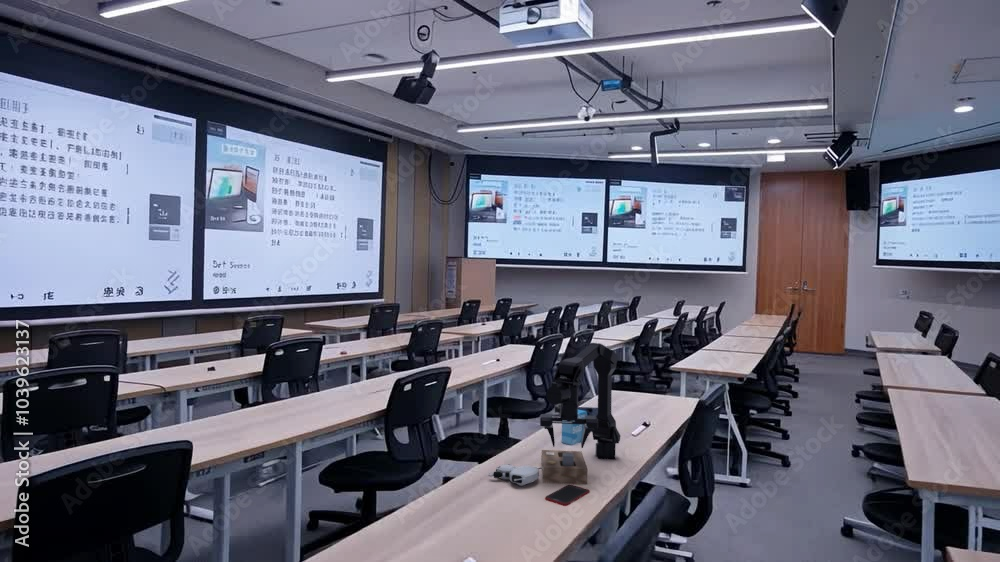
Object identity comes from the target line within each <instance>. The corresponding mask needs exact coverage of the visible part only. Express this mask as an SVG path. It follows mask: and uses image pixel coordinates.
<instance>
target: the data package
mask: <svg viewBox="0 0 1000 562" xmlns="http://www.w3.org/2000/svg"><path fill="white" fill-rule="evenodd" d="M585 416H587V412H586V411H583V410H578V418H584V417H585ZM562 421H565V420H562ZM566 421H567V420H566ZM582 434H583V424H561V443H562V444H565V445H569V446H573V445H575V444H581V441H582Z"/></svg>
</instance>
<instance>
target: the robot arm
mask: <svg viewBox="0 0 1000 562" xmlns="http://www.w3.org/2000/svg"><path fill="white" fill-rule="evenodd" d="M618 359H619V357H618V354H617V353H616V352H615V351H614V350H612V349H610V348H608V347H606V346H605V344H602V343H600V342H599V343H597V342H589V343H588V345H587V346H586V347H585V348H583V349H582V350H581V351H580V352H579V353H578V354H576V355H575V356H574V357H569V358H565V359H563V360H561V361H560V362H559V364H558V366H557V367H556V371H555V373H554V377H552V378H553V379H552V383H551V386H550V387H548V388H547V390H546V392H545V398H546V400H547V401H546V402H548V403H549V404H551V405H553V406H554V413H555V414H556V413H558V416H559V417H554V416H553V414H552V413H541V414H540V415H539V426H540V427H543V429H545V430H547V432H548V434H549V436H550V437H549V438H550V439H551V444H552V448H555V446H556V445H555V443H556V441H555V431H554V426H553V425H554V424H561V425H562V424H583V434H582V441H581V442H580V447H581V449H583V448H584V446H585V444H586V441H587V439H588V437H589V436H590V434H591V433H592V439H593V440H594V441H596V443H595V452H594V453H595V456H596V458H597V459H598V460H615V461H617V457H616V444H619V443H620V441H621V434H620V432H619V430H618V427H617V423H616V419H615V418H614V416H613V414H612V392H613V391H612V389H613V388H612V386H613V385H612V381H613V378H612V377H613V373H614V372H615V370H616V369H617V363H618ZM592 362H593V368H594V370H595V372H596V373H597V408H598V414H597V416H585V417H584V418H578V407H579V390H580V389H579V386H580V385H582V382H581V381H580V380H581V378H582V376H583V375H584V374H585V369H586V367H587V366H589V365H590V364H592ZM562 420H565V421H562ZM566 420H567V421H566ZM591 431H592V432H591Z"/></svg>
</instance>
